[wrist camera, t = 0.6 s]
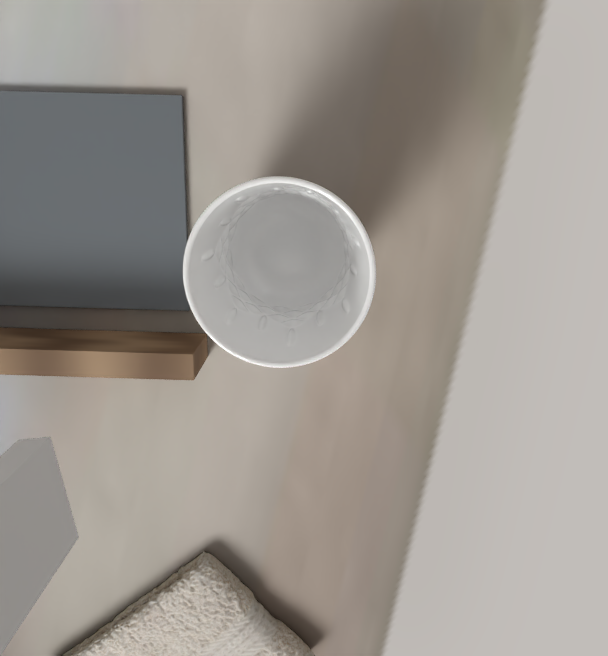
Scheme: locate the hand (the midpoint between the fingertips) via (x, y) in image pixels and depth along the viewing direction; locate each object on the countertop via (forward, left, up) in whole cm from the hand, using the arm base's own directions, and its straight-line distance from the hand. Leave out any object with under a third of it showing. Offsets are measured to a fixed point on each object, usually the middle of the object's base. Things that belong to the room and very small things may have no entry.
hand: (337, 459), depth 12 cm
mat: (-14, +4, -20) cm, 25 cm away
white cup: (-2, +2, -21) cm, 21 cm away
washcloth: (-10, -29, -21) cm, 37 cm away
